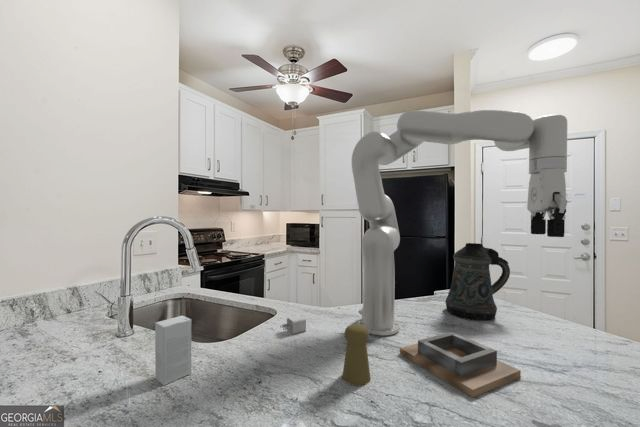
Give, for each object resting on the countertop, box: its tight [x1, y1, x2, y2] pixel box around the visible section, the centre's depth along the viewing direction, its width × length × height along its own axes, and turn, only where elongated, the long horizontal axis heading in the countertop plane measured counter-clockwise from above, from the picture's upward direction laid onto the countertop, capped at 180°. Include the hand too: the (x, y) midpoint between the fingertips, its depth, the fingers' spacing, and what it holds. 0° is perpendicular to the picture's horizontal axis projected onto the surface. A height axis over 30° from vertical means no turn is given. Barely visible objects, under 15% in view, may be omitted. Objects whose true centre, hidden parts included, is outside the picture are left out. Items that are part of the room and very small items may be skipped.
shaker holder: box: [399, 331, 522, 398], centre depth 70 cm, size 20×16×4 cm
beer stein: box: [445, 242, 511, 322], centre depth 107 cm, size 16×19×25 cm
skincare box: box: [154, 315, 192, 386], centre depth 64 cm, size 6×4×12 cm
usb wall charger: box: [280, 315, 307, 335], centre depth 88 cm, size 4×7×4 cm, turn 122°
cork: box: [341, 323, 371, 386], centre depth 64 cm, size 6×6×11 cm
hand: (546, 235), depth 74 cm, fingers open, 9 cm apart
